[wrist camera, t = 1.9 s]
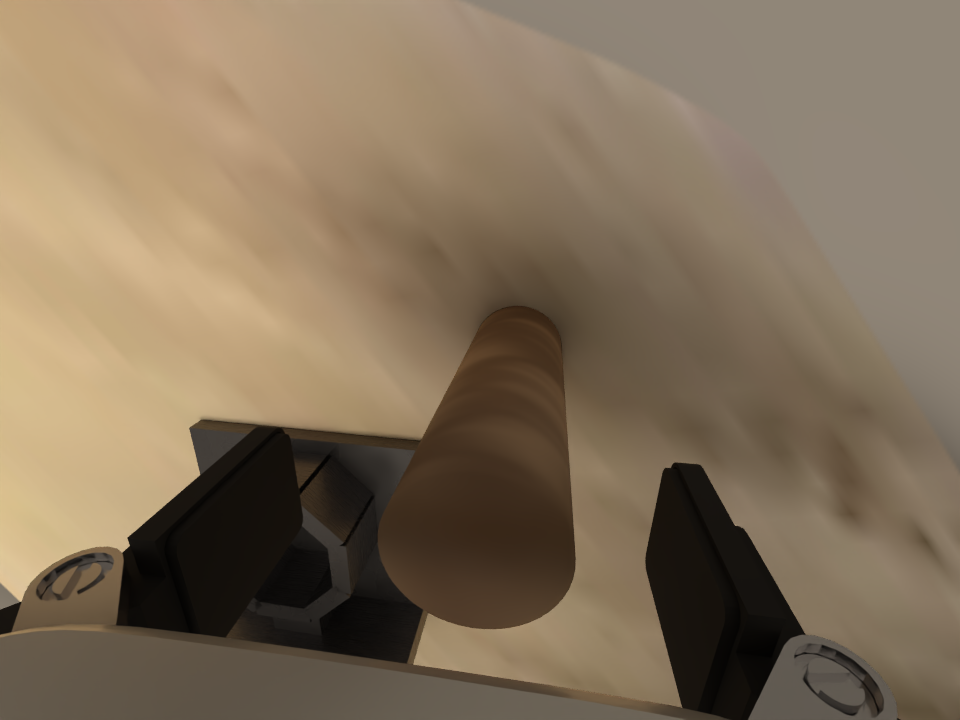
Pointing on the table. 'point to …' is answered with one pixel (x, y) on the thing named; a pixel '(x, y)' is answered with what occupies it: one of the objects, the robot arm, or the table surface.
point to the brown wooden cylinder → (489, 485)
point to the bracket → (330, 548)
